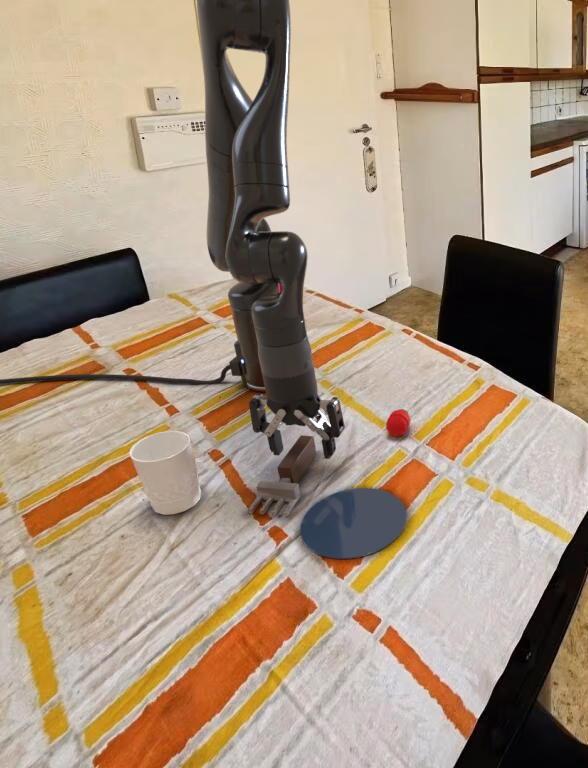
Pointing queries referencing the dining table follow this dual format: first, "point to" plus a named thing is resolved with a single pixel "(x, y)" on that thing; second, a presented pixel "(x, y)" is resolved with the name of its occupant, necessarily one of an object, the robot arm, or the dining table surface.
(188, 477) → the white cup
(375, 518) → the plate
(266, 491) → the fork
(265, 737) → the dining table surface
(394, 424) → the strawberry
